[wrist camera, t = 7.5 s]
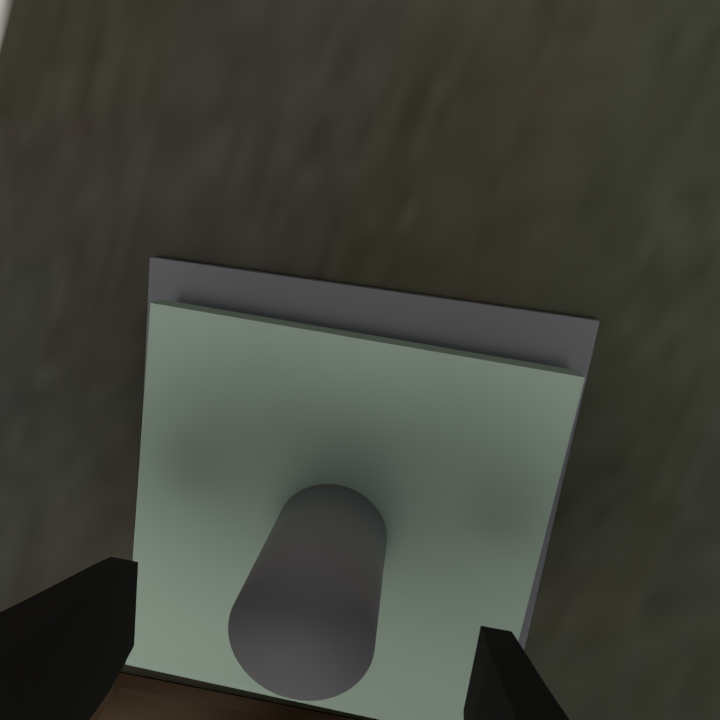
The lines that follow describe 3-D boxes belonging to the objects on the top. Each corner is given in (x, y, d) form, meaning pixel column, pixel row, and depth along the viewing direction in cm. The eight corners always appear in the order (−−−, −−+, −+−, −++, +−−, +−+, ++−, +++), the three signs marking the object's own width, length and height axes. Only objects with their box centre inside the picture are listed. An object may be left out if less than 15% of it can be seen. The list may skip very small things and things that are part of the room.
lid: (568, 363, 16) (649, 432, 10) (486, 702, 19) (514, 903, 13) (175, 296, 17) (51, 327, 11) (149, 630, 19) (38, 790, 14)
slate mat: (595, 319, 16) (599, 321, 16) (509, 699, 19) (510, 709, 19) (155, 256, 17) (149, 257, 17) (138, 628, 20) (132, 635, 20)
